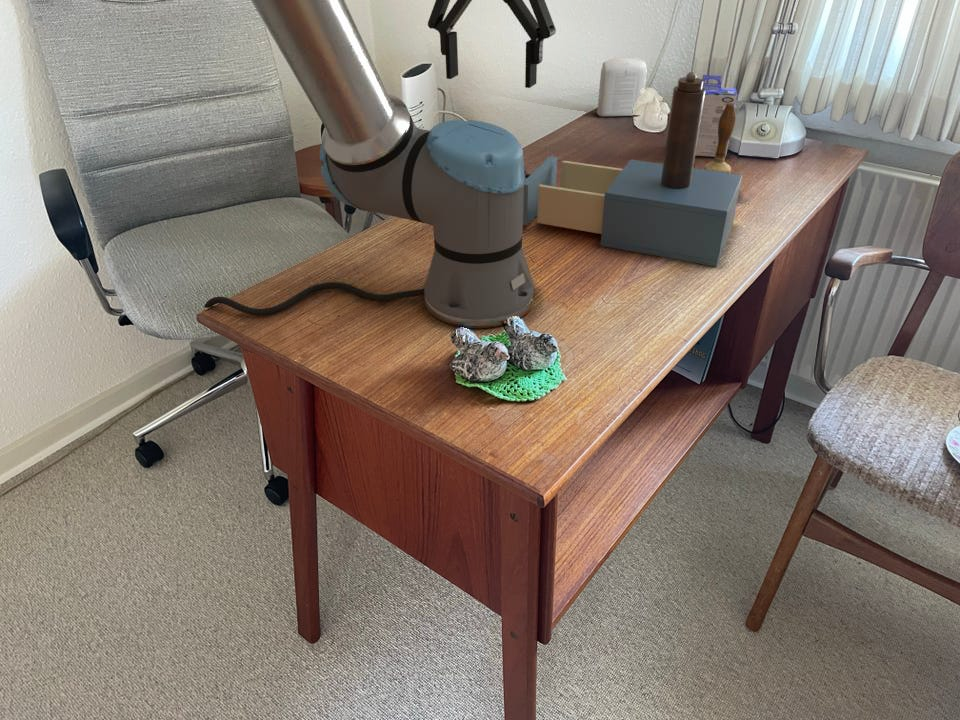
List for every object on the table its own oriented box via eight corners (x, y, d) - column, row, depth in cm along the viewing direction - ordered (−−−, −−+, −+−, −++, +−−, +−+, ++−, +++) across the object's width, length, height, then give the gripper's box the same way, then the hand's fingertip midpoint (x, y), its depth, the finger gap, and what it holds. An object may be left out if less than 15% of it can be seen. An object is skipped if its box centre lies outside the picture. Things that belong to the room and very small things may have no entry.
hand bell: (711, 183, 133) (727, 93, 124) (747, 198, 127) (766, 105, 118) (678, 193, 129) (692, 102, 120) (713, 209, 124) (731, 114, 114)
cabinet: (600, 245, 113) (604, 192, 108) (625, 209, 124) (630, 159, 119) (716, 266, 107) (727, 211, 102) (732, 226, 118) (742, 174, 113)
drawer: (495, 219, 119) (495, 179, 115) (526, 189, 129) (526, 152, 125) (620, 241, 112) (624, 200, 108) (641, 208, 122) (646, 168, 118)
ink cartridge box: (725, 148, 147) (739, 74, 139) (727, 158, 143) (741, 82, 134) (675, 146, 149) (685, 72, 140) (675, 155, 145) (686, 80, 136)
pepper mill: (669, 190, 108) (685, 77, 99) (655, 179, 112) (670, 69, 102) (695, 187, 109) (714, 74, 100) (681, 176, 113) (698, 66, 103)
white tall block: (639, 111, 168) (645, 54, 161) (643, 116, 165) (650, 59, 158) (595, 112, 168) (599, 56, 161) (598, 118, 165) (603, 61, 157)
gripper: (398, -75, 104) (410, 79, 116) (563, -71, 95) (556, 96, 107) (424, -80, 109) (432, 67, 121) (582, -77, 100) (573, 82, 112)
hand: (490, 81), depth 114 cm, fingers open, 13 cm apart
